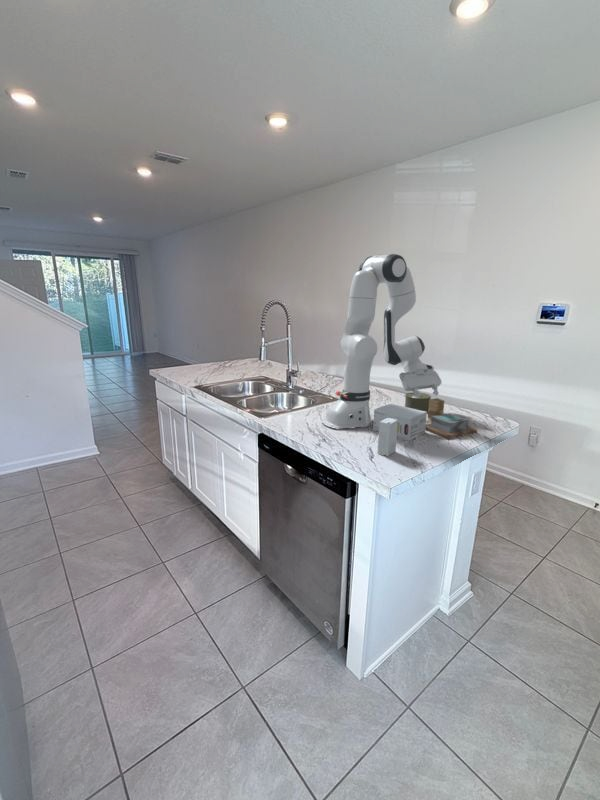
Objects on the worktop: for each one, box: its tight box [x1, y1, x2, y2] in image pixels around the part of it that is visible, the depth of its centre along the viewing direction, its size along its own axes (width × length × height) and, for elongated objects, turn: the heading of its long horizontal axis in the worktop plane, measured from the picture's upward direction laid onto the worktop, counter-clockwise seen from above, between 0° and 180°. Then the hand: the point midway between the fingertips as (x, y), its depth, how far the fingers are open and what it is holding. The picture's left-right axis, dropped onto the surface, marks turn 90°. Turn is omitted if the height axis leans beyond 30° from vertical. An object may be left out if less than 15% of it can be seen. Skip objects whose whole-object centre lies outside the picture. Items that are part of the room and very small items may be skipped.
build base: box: [425, 412, 478, 440], centre depth 150 cm, size 16×14×6 cm
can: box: [404, 392, 432, 412], centre depth 181 cm, size 12×12×7 cm
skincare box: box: [377, 418, 398, 457], centre depth 128 cm, size 6×4×12 cm
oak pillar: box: [427, 398, 445, 420], centre depth 165 cm, size 4×4×9 cm
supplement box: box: [372, 403, 428, 441], centre depth 150 cm, size 17×13×9 cm
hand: (428, 395), depth 168 cm, fingers open, 8 cm apart
